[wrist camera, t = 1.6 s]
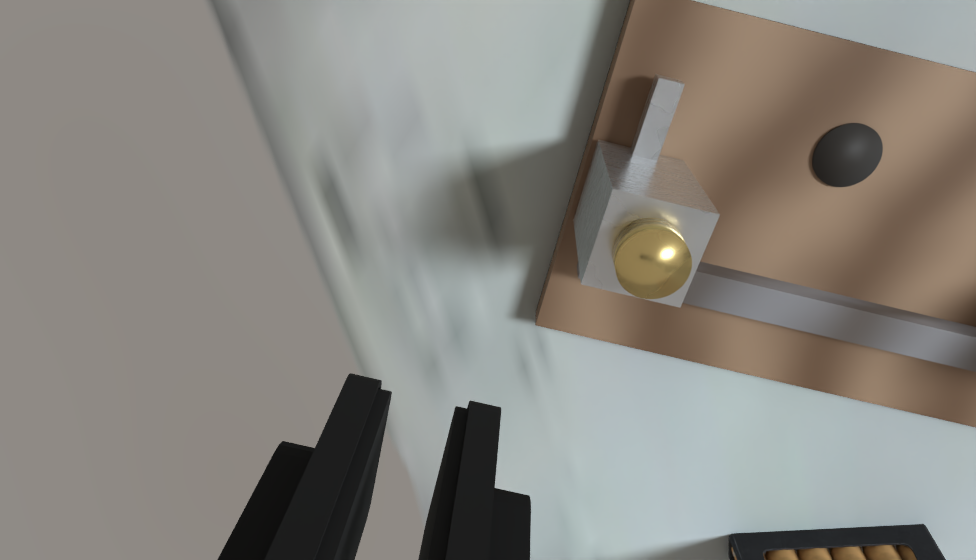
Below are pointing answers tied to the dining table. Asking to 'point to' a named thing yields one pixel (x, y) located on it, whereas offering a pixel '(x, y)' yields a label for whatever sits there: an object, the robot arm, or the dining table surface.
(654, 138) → the metal block with knob
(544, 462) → the dining table surface
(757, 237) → the board
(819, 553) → the ammunition clip
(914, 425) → the dining table surface
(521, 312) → the dining table surface
